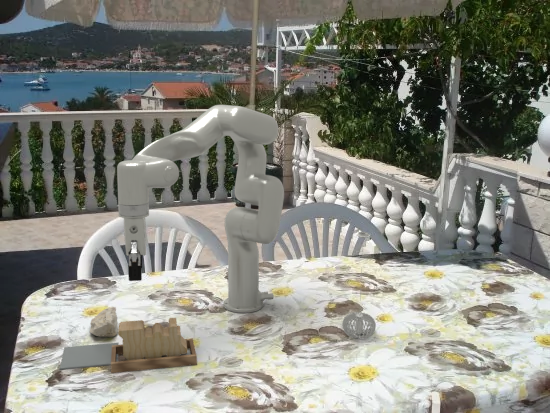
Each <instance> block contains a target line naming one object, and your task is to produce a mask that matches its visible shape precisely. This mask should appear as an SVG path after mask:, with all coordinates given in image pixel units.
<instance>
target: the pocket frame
mask: <svg viewBox="0 0 550 413" xmlns="http://www.w3.org/2000/svg"><path fill="white" fill-rule="evenodd" d="M184 339H185V340H186V342H187V350H188V349H189V353H190V354H181V355H180V356H172V357H167V356H162V357H161V358H150V359H146V358H143V359H139V360H129V361H127V360H118V362H116V354H118V356H121V355H123V343H122V344H119V345H112V354H111V365H110V372H111V374H112V373H113V374H114V373H115V374H116V373H124V372H125V373H127V372H133V371H135V372H136V371H145V370H156V369H165V368H176V367H177V368H178V367H188V366H197V365H198V358H197V357H198V355H197V351H196V347H195V343H194V339H193V338H191V337H190V338H184Z"/></svg>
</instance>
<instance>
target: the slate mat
mask: <svg viewBox="0 0 550 413" xmlns="http://www.w3.org/2000/svg"><path fill="white" fill-rule="evenodd" d="M112 345H120V344H119V342H110V343H109V342H108V343H99V344H98V343H97V344H87V345H86V344H85V345H75V346H74V345H73V346H64V347H63V351H62V352H63V353H62V356H61V361H60V366H59V371H62V370H71V369H82V368H83V369H84V368H94V367H95V368H96V367H102V366H103V367H104V366H111V354H112ZM118 361H119V355H118V354H116V362H118Z"/></svg>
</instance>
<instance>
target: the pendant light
mask: <svg viewBox="0 0 550 413" xmlns="http://www.w3.org/2000/svg"><path fill="white" fill-rule="evenodd" d="M356 236H357V237H358V238H360V239H367V238H370V236H371V234H369V232H368V231H358V233H357V234H356ZM361 248H362V249H361V250H362V251H361V252H362V253H361V256H363V253H364V252H363V251H364V249H363V248H364V246H362V247H361ZM360 269H361V272H360V278H362V271H363V268H360ZM361 290H362V289H360V294H359V297H360V298H359V300H361V297H362V296H361V294H362V291H361ZM376 326H377V325H376V321H375V320H374V318H373V317H372V316H371V315H370V314H368V313H365V312H361V311H359V312H351V313H348V314H347V315H346V316H345V317H344V318H343V320H342V330H343V332H344V333H345V334H346V335H347V336H348V337H350V338H352V339H361V340H363V339H364V340H365V339H369V338H371V336H373V334H374V333H375V331H376ZM365 328H366V329H365ZM357 334H359V335H357ZM361 334H362V335H361Z"/></svg>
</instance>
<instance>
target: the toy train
mask: <svg viewBox="0 0 550 413" xmlns="http://www.w3.org/2000/svg"><path fill="white" fill-rule="evenodd" d="M181 333H182V331H181V326H180V325H178V324H177V317H170V318H169V319H168V326H163V325H162V324H161V323H159V322H155V323H154V324H153V325H152V327H145V322H144V320H142V319H140V320H128V321H127V320H126V321H120V322H118V333H117V335H118V336H119V337H120V338H121V339H122V344H123V358H125V359H126V361H129V360H139V359H150V358H161V357H163V356H166V357H172V356H181V355H187V354H188V349H187V342H186V340H185V339H186V338H185V337H184V336H182V334H181Z"/></svg>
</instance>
